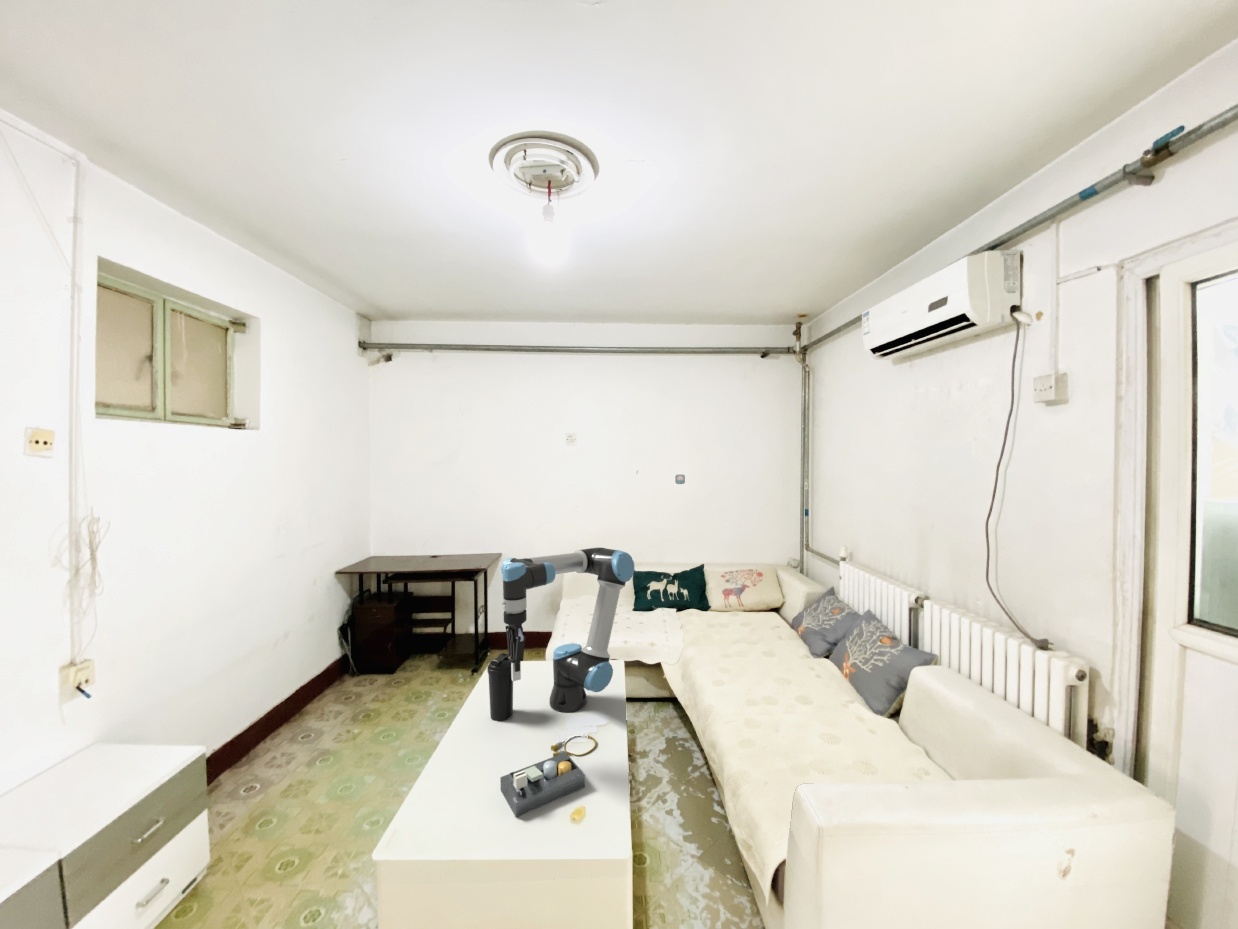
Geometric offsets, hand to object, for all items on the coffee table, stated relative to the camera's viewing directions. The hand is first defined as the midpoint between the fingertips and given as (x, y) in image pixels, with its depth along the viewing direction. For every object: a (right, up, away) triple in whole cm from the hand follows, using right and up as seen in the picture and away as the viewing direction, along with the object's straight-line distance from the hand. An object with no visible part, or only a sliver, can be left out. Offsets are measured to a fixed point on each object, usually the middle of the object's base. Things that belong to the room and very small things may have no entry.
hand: (516, 679), depth 160 cm
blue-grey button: (+13, -24, -14) cm, 31 cm away
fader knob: (+6, -21, -21) cm, 31 cm away
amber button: (+18, -26, -11) cm, 33 cm away
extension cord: (+19, -27, +6) cm, 33 cm away
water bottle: (-11, -26, +26) cm, 39 cm away
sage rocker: (+9, -21, -17) cm, 28 cm away
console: (+11, -27, -15) cm, 33 cm away
